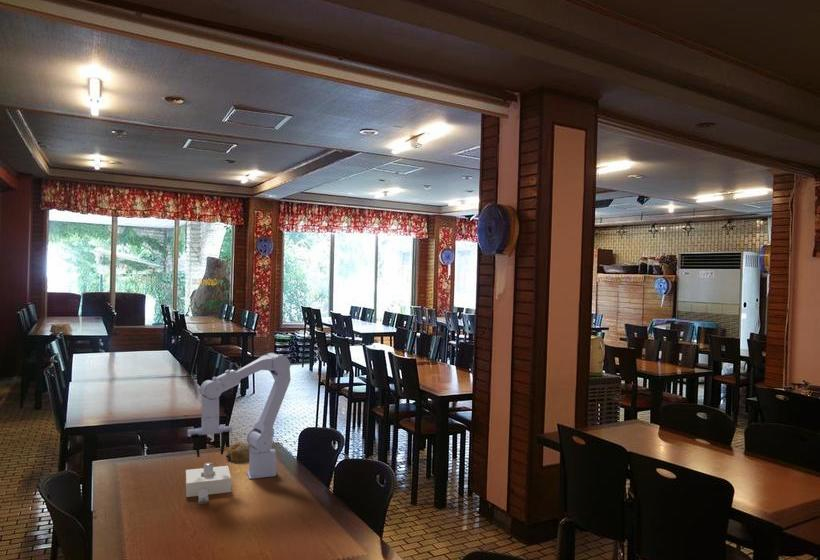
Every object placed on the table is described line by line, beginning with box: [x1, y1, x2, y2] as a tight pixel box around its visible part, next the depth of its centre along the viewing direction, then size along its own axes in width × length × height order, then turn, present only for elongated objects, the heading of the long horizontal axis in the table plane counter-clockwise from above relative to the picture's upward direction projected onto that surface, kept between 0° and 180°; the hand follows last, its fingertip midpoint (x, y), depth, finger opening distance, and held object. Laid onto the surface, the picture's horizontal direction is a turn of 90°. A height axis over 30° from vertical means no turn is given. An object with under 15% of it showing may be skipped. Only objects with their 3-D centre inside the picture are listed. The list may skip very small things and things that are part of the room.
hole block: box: [185, 465, 232, 498], centre depth 199 cm, size 14×14×4 cm
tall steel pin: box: [203, 462, 214, 477], centre depth 199 cm, size 3×3×8 cm
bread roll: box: [225, 441, 250, 462], centre depth 231 cm, size 10×10×8 cm
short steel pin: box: [197, 488, 209, 505], centre depth 187 cm, size 3×3×4 cm
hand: (210, 455), depth 202 cm, fingers open, 7 cm apart
